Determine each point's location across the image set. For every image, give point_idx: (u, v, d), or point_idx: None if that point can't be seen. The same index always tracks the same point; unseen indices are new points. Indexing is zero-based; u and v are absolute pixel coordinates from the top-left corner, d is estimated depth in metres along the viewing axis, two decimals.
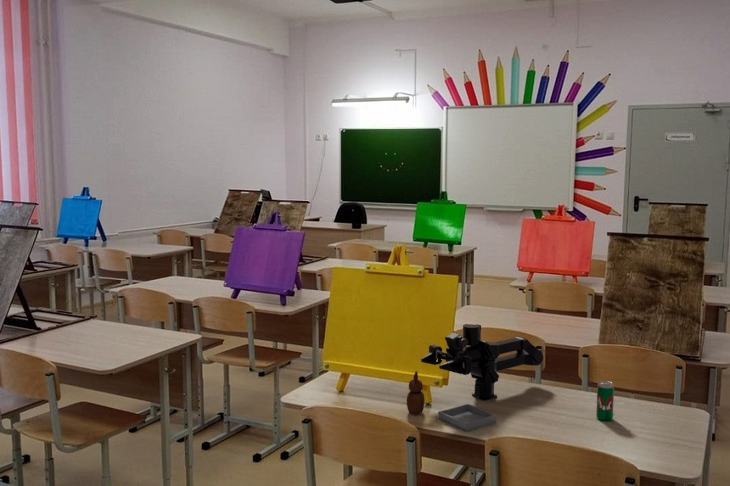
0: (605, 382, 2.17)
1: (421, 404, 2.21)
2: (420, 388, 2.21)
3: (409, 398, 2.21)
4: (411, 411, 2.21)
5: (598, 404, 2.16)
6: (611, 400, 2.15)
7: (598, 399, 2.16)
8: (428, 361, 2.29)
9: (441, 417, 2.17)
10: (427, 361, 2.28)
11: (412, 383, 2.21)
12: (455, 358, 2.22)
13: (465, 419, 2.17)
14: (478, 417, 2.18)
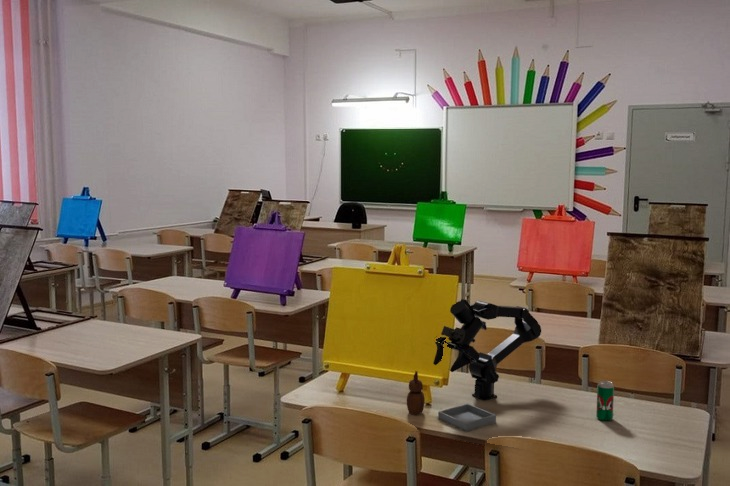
0: (605, 382, 2.17)
1: (421, 404, 2.21)
2: (420, 388, 2.21)
3: (410, 398, 2.21)
4: (411, 411, 2.21)
5: (598, 404, 2.16)
6: (611, 400, 2.15)
7: (598, 399, 2.16)
8: (440, 358, 2.33)
9: (441, 417, 2.17)
10: (439, 359, 2.33)
11: (412, 383, 2.21)
12: (459, 354, 2.24)
13: (465, 419, 2.17)
14: (478, 417, 2.18)
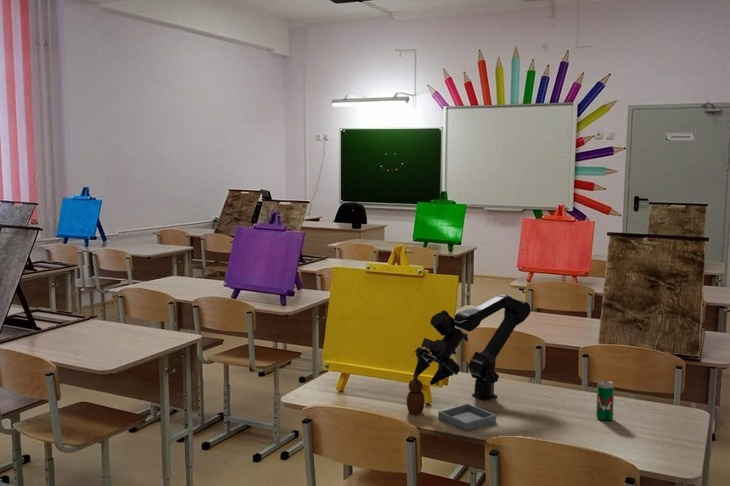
0: (605, 382, 2.17)
1: (421, 404, 2.21)
2: (420, 388, 2.21)
3: (409, 398, 2.21)
4: (411, 411, 2.21)
5: (598, 404, 2.16)
6: (611, 400, 2.15)
7: (598, 399, 2.16)
8: (421, 370, 2.29)
9: (441, 417, 2.17)
10: (420, 372, 2.29)
11: (412, 383, 2.21)
12: (439, 366, 2.20)
13: (465, 419, 2.17)
14: (478, 417, 2.18)
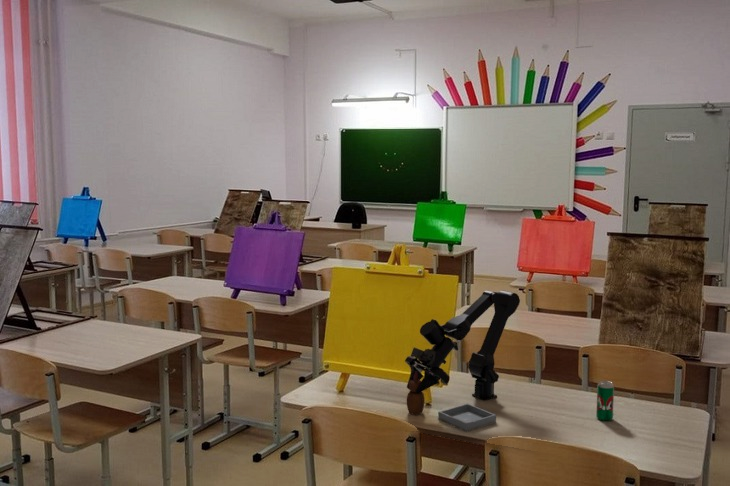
0: (605, 382, 2.17)
1: (421, 404, 2.21)
2: None
3: (409, 398, 2.21)
4: (411, 411, 2.21)
5: (598, 404, 2.16)
6: (611, 400, 2.15)
7: (598, 399, 2.16)
8: None
9: (441, 417, 2.17)
10: None
11: (412, 383, 2.21)
12: (425, 375, 2.20)
13: (465, 419, 2.17)
14: (478, 417, 2.18)
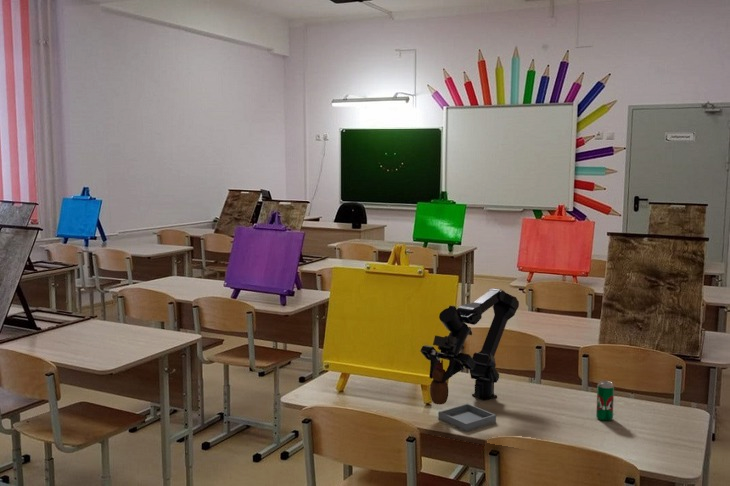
0: (605, 382, 2.17)
1: (447, 393, 2.16)
2: None
3: (436, 387, 2.15)
4: (437, 401, 2.16)
5: (598, 404, 2.16)
6: (611, 400, 2.15)
7: (598, 399, 2.16)
8: None
9: (441, 417, 2.17)
10: None
11: (437, 372, 2.16)
12: (450, 362, 2.16)
13: (465, 419, 2.17)
14: (478, 417, 2.18)
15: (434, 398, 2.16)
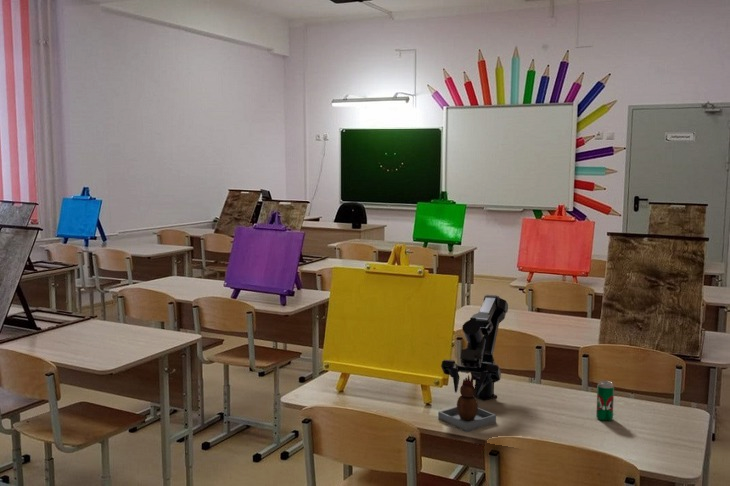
0: (605, 382, 2.17)
1: (477, 408, 2.15)
2: (474, 392, 2.15)
3: (468, 404, 2.13)
4: (468, 417, 2.14)
5: (598, 404, 2.16)
6: (611, 400, 2.15)
7: (598, 399, 2.16)
8: (457, 384, 2.18)
9: (441, 417, 2.17)
10: (457, 385, 2.18)
11: (468, 388, 2.14)
12: (481, 375, 2.15)
13: None
14: (478, 417, 2.18)
15: (465, 414, 2.14)
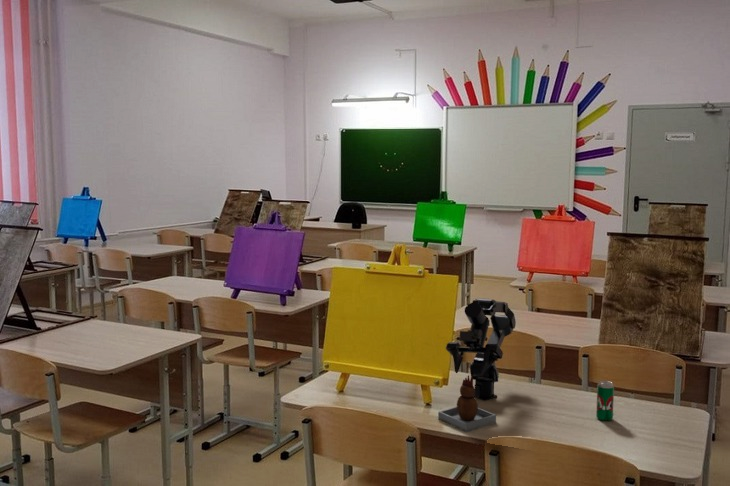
0: (605, 382, 2.17)
1: (477, 408, 2.15)
2: (474, 392, 2.15)
3: (468, 404, 2.13)
4: (468, 417, 2.14)
5: (598, 404, 2.16)
6: (611, 400, 2.15)
7: (598, 399, 2.16)
8: (459, 365, 2.27)
9: (441, 417, 2.17)
10: (459, 366, 2.27)
11: (468, 388, 2.14)
12: (484, 355, 2.21)
13: None
14: (478, 417, 2.18)
15: (465, 415, 2.14)
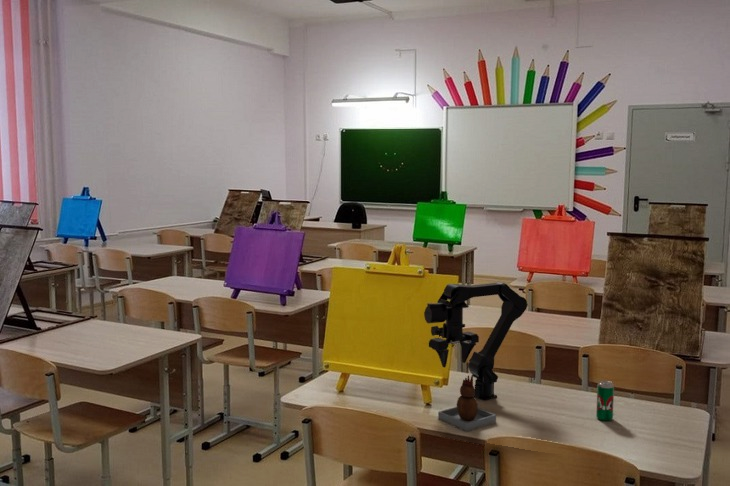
0: (605, 382, 2.17)
1: (477, 408, 2.15)
2: (474, 392, 2.15)
3: (468, 404, 2.13)
4: (468, 417, 2.14)
5: (598, 404, 2.16)
6: (611, 400, 2.15)
7: (598, 399, 2.16)
8: (465, 354, 2.35)
9: (441, 417, 2.17)
10: (465, 355, 2.35)
11: (468, 388, 2.14)
12: None
13: None
14: (478, 417, 2.18)
15: (465, 415, 2.14)
